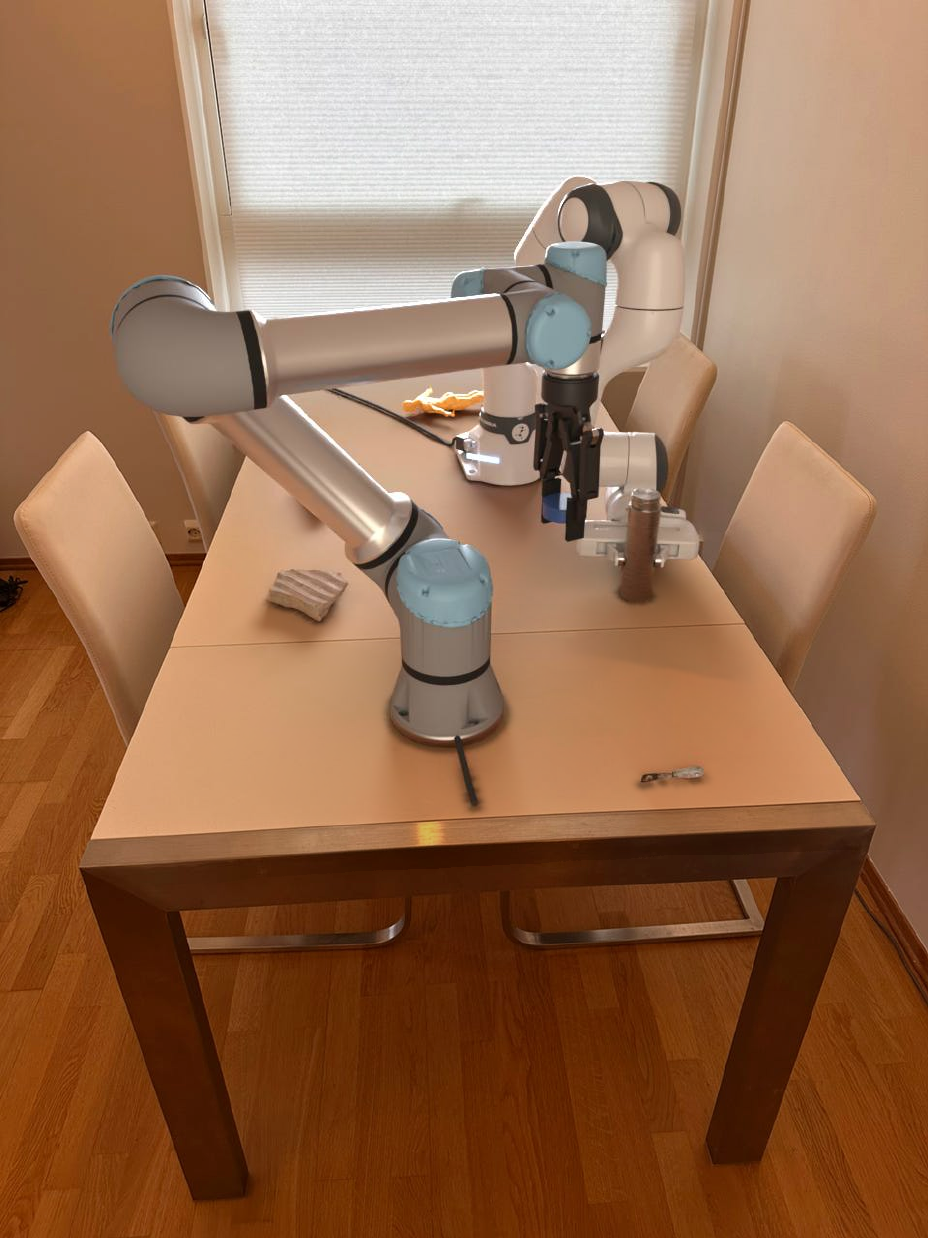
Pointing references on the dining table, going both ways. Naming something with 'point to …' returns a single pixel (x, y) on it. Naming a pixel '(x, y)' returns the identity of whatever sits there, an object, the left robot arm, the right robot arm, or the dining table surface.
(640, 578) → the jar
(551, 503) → the lid
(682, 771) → the putty knife
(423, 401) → the human figure
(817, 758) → the dining table surface
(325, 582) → the stone
